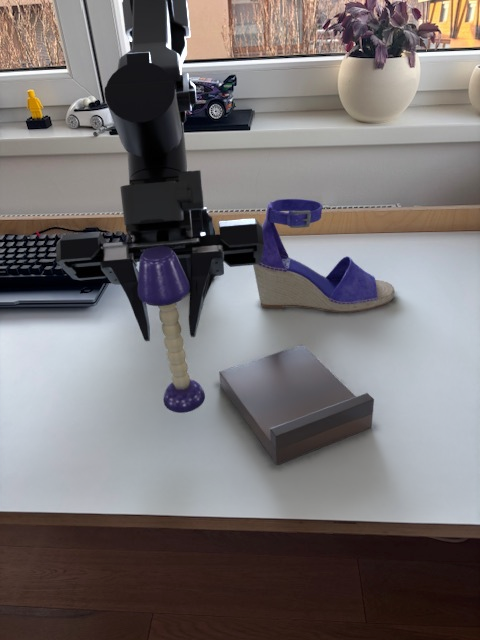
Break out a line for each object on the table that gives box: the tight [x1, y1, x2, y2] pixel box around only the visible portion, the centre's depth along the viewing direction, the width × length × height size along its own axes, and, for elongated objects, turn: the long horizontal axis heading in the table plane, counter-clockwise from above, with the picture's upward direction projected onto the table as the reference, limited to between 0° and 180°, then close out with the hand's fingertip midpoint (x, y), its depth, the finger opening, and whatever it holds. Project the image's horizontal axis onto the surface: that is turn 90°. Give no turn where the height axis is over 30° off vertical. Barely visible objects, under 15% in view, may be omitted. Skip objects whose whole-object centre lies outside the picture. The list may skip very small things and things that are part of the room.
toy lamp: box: [138, 246, 206, 414], centre depth 51 cm, size 5×5×17 cm
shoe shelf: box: [218, 344, 375, 466], centre depth 58 cm, size 14×11×4 cm
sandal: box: [252, 198, 395, 313], centre depth 74 cm, size 8×20×15 cm, turn 84°
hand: (169, 338), depth 50 cm, fingers closed on toy lamp, 4 cm apart
